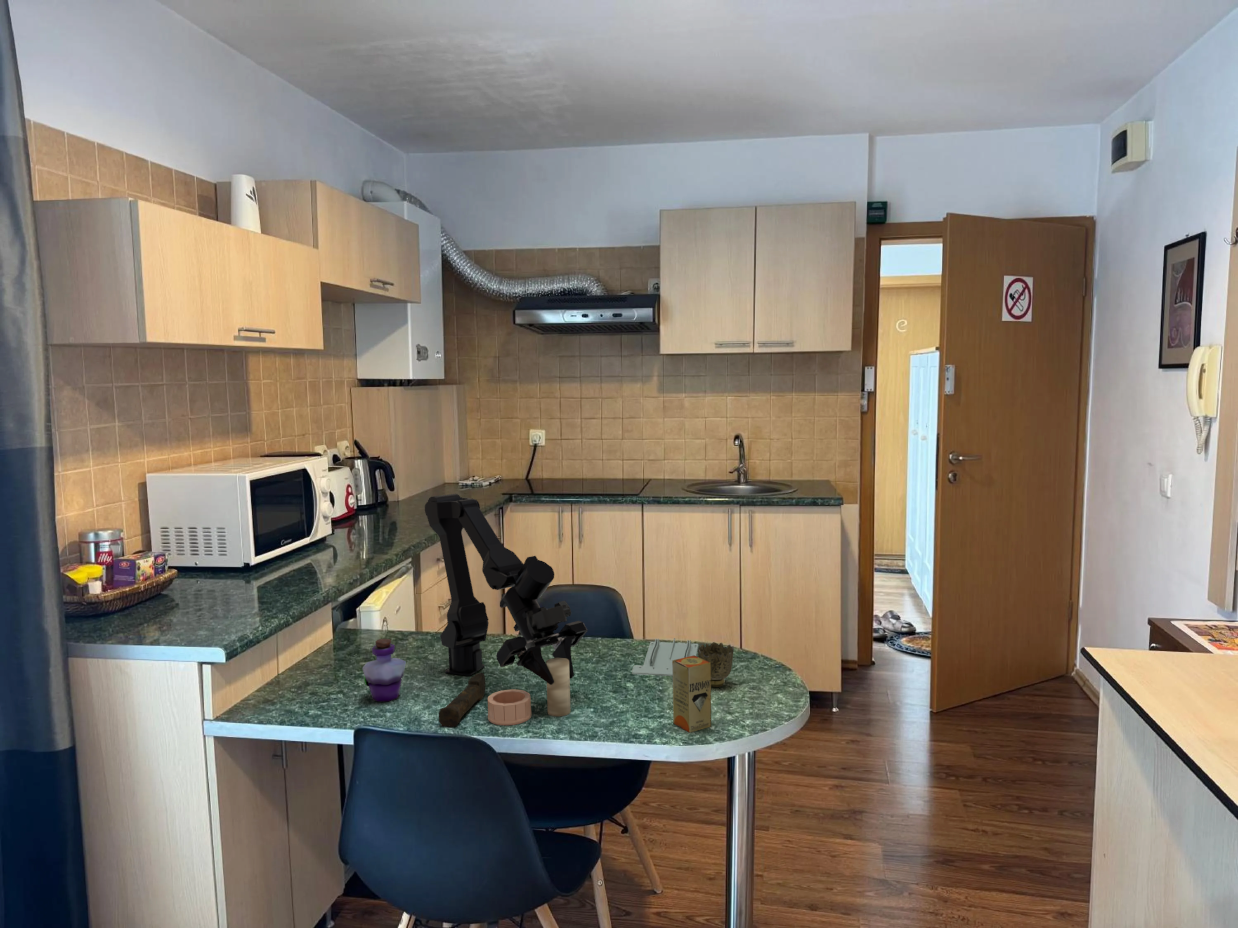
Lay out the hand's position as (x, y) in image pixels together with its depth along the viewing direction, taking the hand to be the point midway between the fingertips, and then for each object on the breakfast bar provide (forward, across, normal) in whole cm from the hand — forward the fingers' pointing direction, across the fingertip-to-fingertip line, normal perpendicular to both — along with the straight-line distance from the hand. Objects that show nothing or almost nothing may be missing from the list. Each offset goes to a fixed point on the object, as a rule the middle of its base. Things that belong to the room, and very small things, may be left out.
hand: (562, 680), depth 161 cm
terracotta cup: (0, -8, +9) cm, 12 cm away
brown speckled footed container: (+12, +32, -3) cm, 34 cm away
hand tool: (-7, -12, +17) cm, 21 cm away
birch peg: (+4, 0, +6) cm, 7 cm away
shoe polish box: (+20, +14, -10) cm, 26 cm away
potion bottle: (-18, -20, +28) cm, 39 cm away
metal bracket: (+2, +34, +8) cm, 35 cm away
